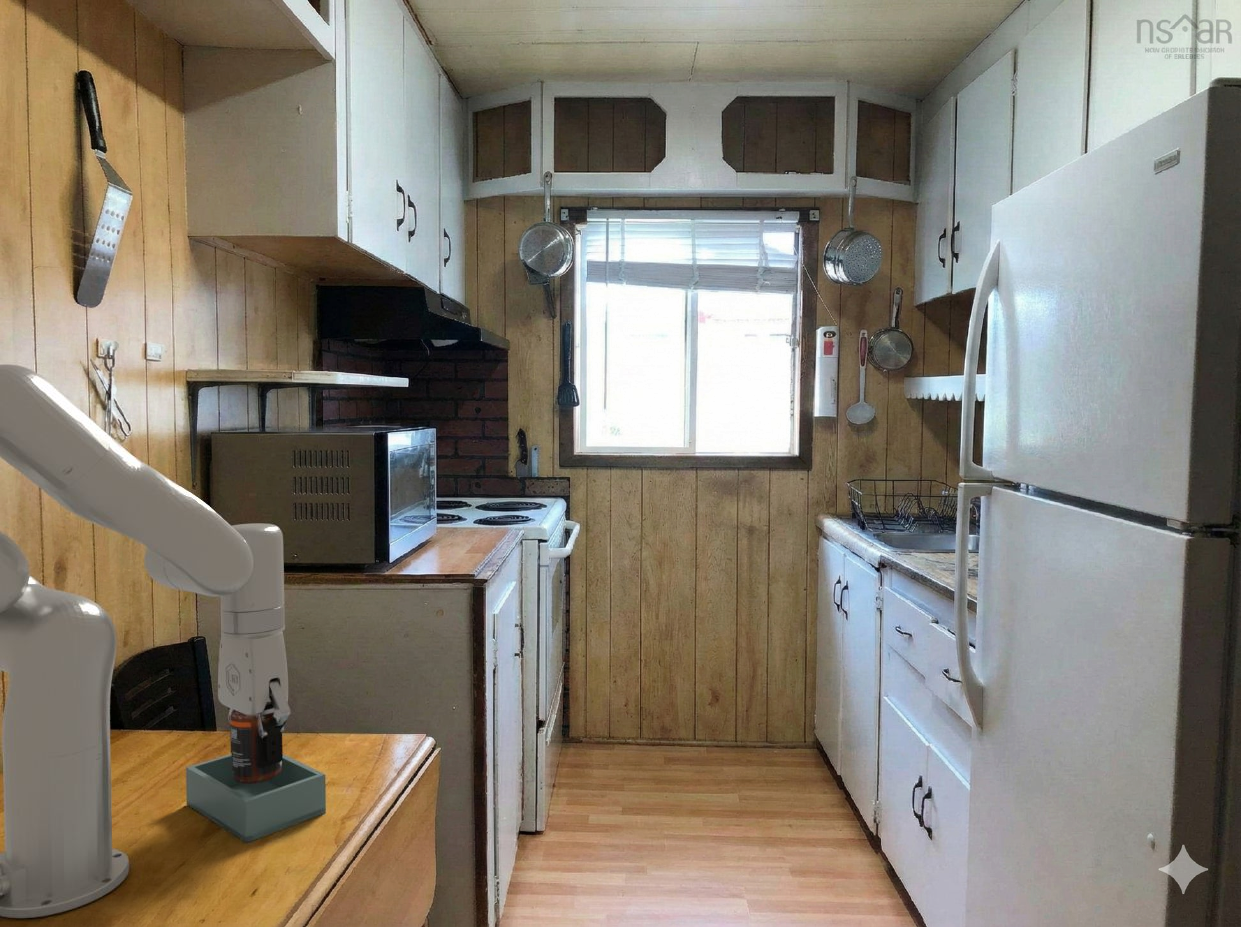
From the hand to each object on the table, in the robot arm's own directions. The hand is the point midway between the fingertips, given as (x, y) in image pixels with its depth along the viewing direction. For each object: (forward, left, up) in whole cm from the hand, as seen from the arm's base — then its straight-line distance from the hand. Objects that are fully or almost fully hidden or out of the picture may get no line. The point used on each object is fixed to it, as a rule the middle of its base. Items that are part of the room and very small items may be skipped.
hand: (256, 756), depth 108 cm
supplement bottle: (0, 0, -3) cm, 3 cm away
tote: (0, 0, -7) cm, 7 cm away
